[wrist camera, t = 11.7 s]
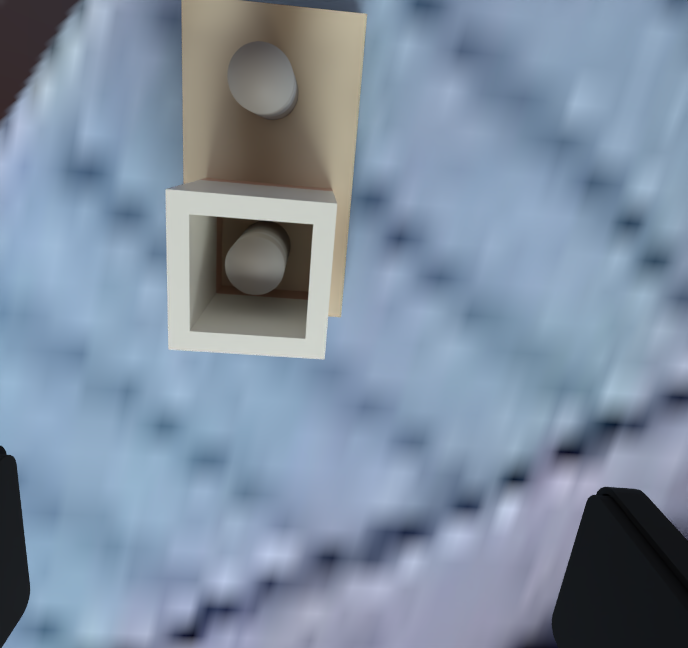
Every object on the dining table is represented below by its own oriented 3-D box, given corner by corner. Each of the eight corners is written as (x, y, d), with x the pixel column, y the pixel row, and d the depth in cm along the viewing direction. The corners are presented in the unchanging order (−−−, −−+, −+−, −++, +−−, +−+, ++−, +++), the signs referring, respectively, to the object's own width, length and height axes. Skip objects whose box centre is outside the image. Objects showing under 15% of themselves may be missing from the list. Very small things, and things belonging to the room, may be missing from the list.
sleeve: (332, 188, 25) (337, 203, 19) (322, 307, 27) (324, 359, 21) (206, 177, 25) (165, 188, 18) (205, 299, 27) (168, 349, 20)
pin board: (363, 24, 25) (379, -21, 18) (339, 306, 29) (345, 352, 23) (192, 5, 24) (144, -47, 18) (193, 296, 29) (156, 341, 22)
